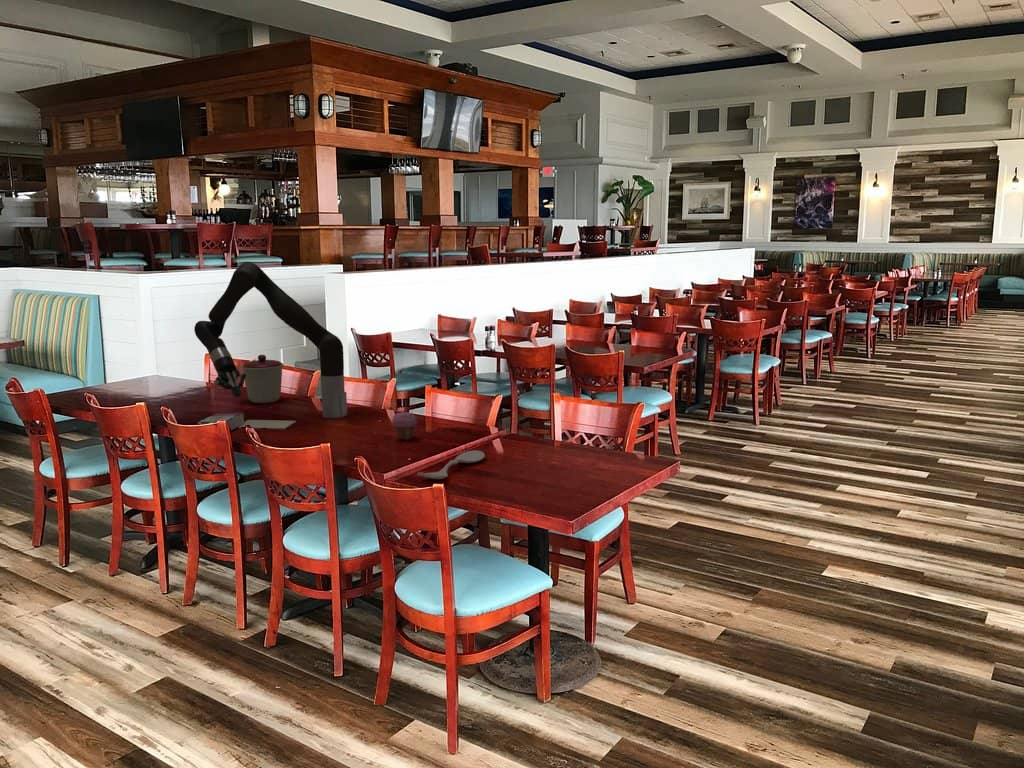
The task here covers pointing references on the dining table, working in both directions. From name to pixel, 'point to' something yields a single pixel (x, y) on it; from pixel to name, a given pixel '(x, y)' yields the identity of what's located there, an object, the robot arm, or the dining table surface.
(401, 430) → the cupcake
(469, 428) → the dining table surface
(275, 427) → the placemat
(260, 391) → the canister
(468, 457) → the spoon
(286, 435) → the dining table surface
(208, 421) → the candy bar box
